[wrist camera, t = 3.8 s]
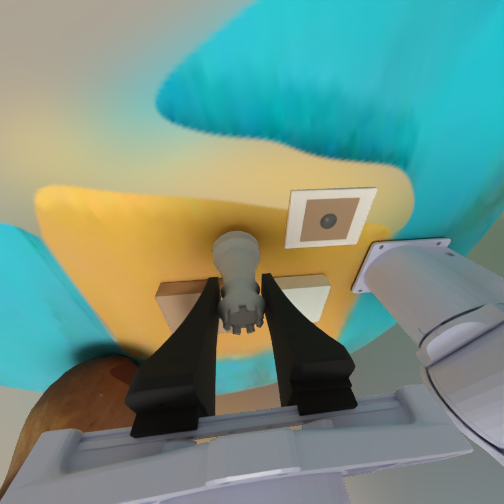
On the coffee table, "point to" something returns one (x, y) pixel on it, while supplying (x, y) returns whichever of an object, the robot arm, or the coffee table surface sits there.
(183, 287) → the walnut block
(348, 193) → the card
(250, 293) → the rook chess piece
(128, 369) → the butternut squash
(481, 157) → the coffee table surface
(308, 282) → the grey-green block
